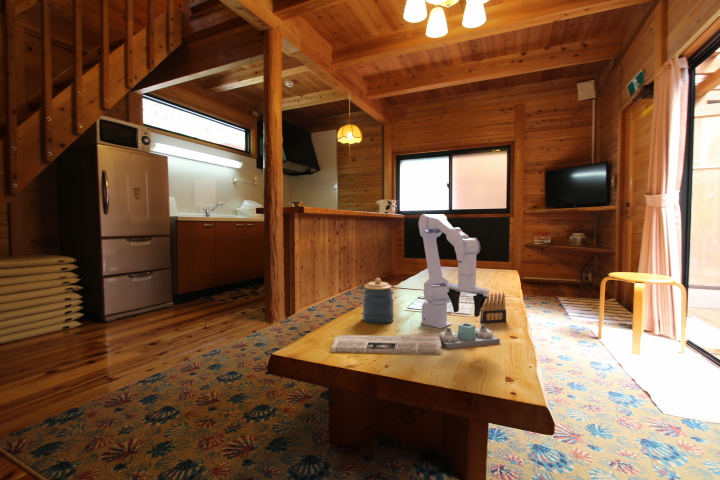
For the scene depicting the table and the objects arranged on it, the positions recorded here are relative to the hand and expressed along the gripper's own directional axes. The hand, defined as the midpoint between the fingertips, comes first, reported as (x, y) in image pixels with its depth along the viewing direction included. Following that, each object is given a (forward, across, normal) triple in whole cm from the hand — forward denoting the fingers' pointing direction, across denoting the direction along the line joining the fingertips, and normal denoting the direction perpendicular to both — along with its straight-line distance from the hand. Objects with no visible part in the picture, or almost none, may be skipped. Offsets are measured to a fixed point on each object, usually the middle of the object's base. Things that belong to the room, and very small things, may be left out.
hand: (466, 313), depth 111 cm
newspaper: (+10, +16, +22) cm, 29 cm away
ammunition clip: (+10, +3, -28) cm, 30 cm away
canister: (+10, +38, +3) cm, 39 cm away
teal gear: (+8, 0, 0) cm, 8 cm away
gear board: (+9, 0, 0) cm, 9 cm away
